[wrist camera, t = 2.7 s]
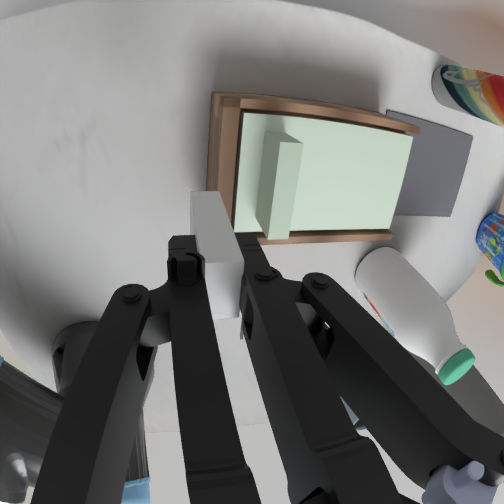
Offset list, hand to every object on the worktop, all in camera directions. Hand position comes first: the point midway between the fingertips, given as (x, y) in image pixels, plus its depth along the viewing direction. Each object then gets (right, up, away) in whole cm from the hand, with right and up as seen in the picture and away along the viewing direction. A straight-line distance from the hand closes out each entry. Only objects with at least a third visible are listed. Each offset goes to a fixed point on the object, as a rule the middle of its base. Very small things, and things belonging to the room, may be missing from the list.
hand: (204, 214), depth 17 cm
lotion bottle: (+27, +19, +13) cm, 35 cm away
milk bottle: (+20, -4, +26) cm, 33 cm away
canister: (+39, -21, +42) cm, 61 cm away
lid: (+9, +5, +10) cm, 14 cm away
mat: (+25, +9, +19) cm, 32 cm away
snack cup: (+46, +2, +29) cm, 54 cm away
